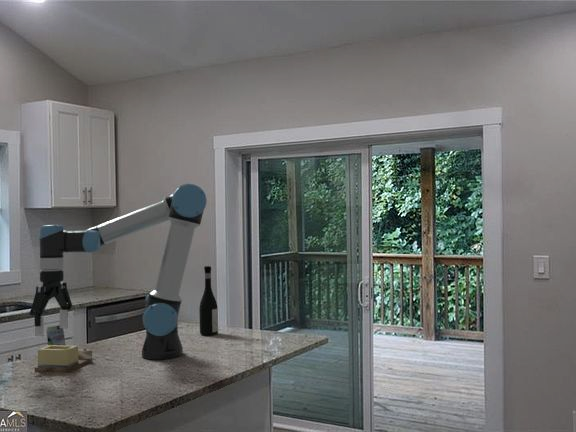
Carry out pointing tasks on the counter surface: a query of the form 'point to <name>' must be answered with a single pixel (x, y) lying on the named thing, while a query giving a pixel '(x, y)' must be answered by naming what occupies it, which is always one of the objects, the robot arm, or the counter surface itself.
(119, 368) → the counter surface
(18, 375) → the counter surface
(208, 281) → the wine bottle
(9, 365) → the counter surface
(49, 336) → the beverage can
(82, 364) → the wall board
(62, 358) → the frame
